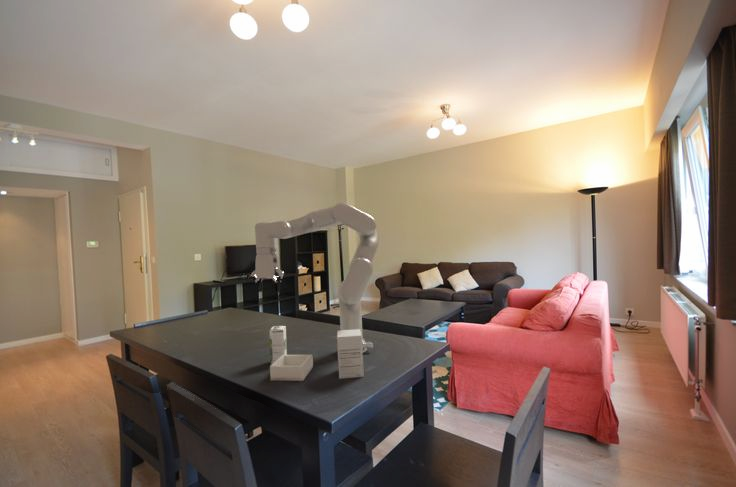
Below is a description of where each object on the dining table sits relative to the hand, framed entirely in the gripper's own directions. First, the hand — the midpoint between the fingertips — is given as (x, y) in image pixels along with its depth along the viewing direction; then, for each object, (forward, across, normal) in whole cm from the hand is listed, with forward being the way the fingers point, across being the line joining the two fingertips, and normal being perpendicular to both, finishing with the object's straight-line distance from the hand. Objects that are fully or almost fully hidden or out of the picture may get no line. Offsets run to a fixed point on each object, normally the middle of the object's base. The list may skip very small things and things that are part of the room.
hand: (268, 291), depth 140 cm
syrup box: (+29, -6, +3) cm, 30 cm away
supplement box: (+29, -39, +2) cm, 49 cm away
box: (+29, -19, +10) cm, 36 cm away
